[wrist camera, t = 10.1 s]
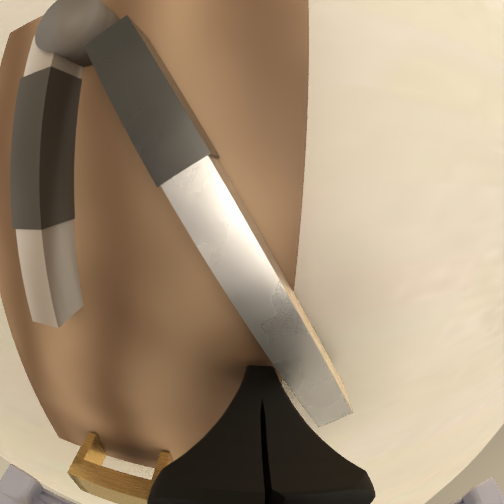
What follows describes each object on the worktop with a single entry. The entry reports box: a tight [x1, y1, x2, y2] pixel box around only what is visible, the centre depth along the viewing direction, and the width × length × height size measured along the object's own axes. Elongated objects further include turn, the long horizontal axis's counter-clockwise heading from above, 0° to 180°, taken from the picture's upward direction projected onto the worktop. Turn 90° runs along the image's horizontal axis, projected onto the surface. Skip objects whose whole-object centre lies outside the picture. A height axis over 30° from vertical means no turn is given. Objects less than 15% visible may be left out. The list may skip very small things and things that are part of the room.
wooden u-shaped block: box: [67, 432, 172, 504], centre depth 12 cm, size 6×2×4 cm, turn 87°
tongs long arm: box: [84, 15, 353, 427], centre depth 9 cm, size 2×17×2 cm, turn 29°
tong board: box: [0, 0, 309, 468], centre depth 10 cm, size 16×28×4 cm, turn 177°
